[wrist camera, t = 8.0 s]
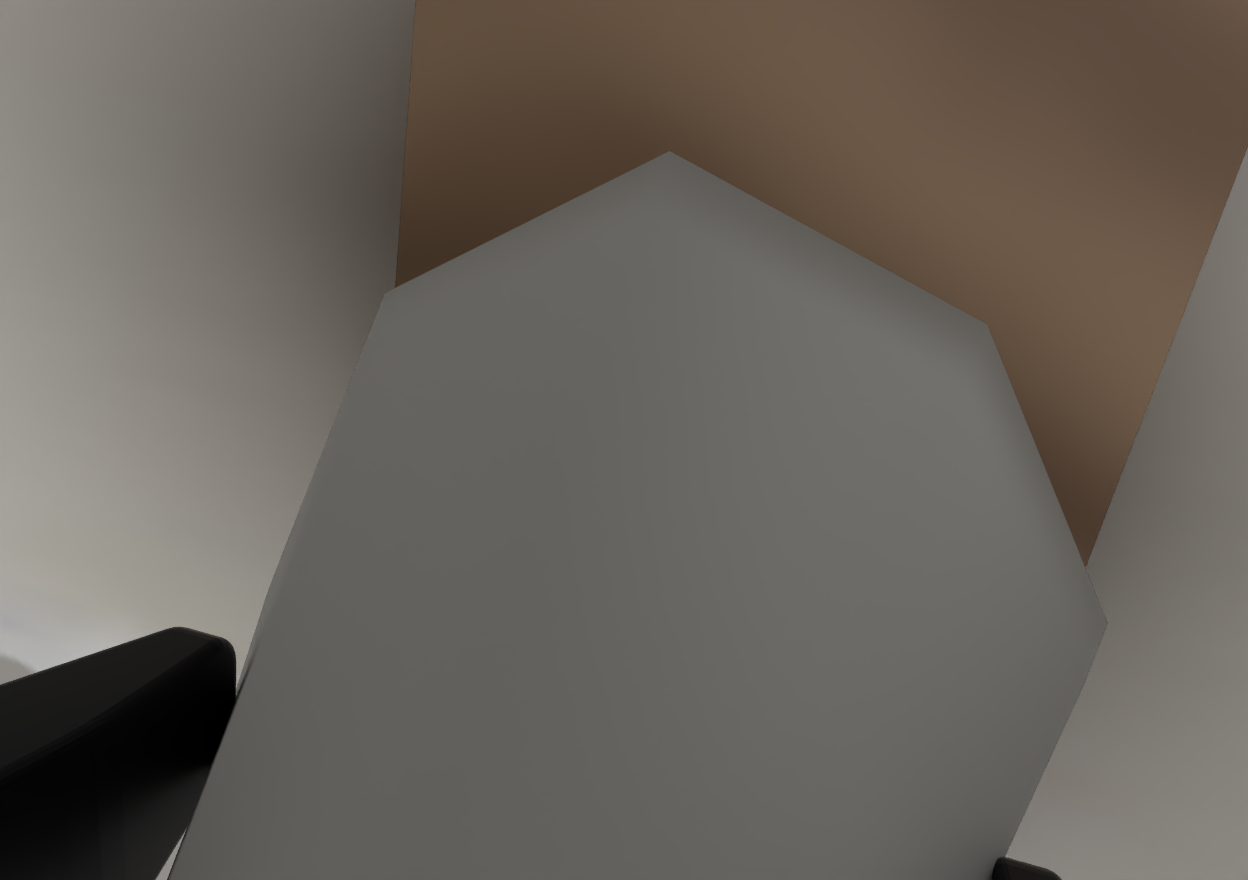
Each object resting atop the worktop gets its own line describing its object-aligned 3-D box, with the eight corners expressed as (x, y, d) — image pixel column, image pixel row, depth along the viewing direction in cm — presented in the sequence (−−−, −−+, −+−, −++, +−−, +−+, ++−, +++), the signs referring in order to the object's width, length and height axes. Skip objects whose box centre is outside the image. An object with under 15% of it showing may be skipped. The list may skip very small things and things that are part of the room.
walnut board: (951, 859, 21) (954, 905, 20) (387, 701, 23) (363, 735, 22) (1334, -164, 14) (1373, -179, 13) (468, -287, 16) (437, -308, 15)
